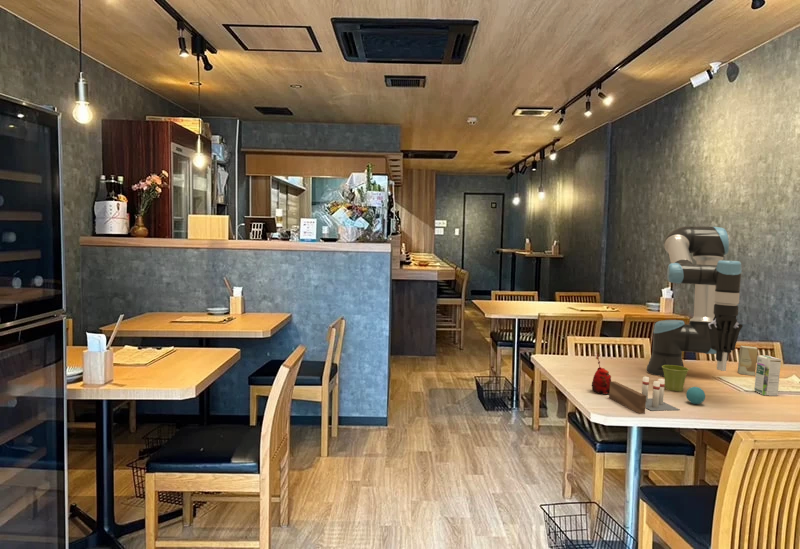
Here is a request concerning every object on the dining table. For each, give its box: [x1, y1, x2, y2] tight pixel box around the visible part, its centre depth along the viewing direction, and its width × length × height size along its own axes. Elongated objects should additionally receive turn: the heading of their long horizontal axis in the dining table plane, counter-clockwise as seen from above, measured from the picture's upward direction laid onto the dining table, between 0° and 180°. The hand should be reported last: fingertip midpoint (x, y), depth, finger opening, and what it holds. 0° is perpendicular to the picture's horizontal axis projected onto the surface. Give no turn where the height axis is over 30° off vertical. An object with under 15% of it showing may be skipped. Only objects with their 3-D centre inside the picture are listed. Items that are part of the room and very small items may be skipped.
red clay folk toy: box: [591, 352, 612, 395], centre depth 208 cm, size 8×7×15 cm
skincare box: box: [737, 345, 758, 377], centre depth 248 cm, size 6×4×12 cm
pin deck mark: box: [645, 397, 681, 412], centre depth 195 cm, size 11×13×1 cm
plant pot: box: [662, 365, 690, 392], centre depth 216 cm, size 9×9×9 cm
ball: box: [685, 386, 706, 405], centre depth 198 cm, size 6×6×6 cm
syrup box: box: [753, 354, 782, 397], centre depth 215 cm, size 6×6×14 cm
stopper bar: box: [608, 380, 646, 415], centre depth 193 cm, size 2×18×6 cm, turn 11°
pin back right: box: [641, 375, 650, 402], centre depth 197 cm, size 2×2×9 cm
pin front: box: [657, 378, 665, 405], centre depth 195 cm, size 2×2×9 cm
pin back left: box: [651, 380, 660, 408], centre depth 191 cm, size 2×2×9 cm
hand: (721, 370), depth 199 cm, fingers closed
